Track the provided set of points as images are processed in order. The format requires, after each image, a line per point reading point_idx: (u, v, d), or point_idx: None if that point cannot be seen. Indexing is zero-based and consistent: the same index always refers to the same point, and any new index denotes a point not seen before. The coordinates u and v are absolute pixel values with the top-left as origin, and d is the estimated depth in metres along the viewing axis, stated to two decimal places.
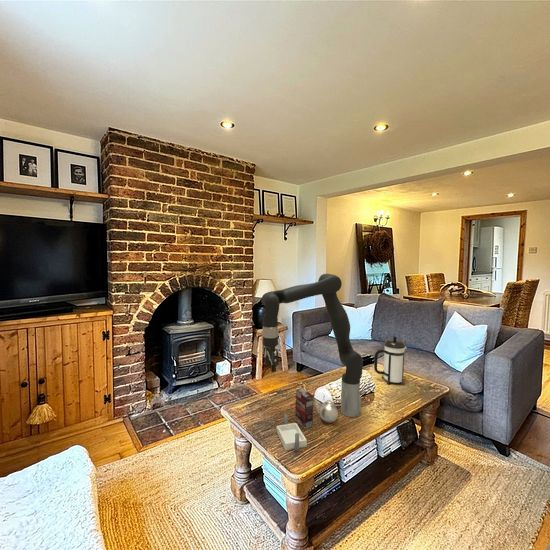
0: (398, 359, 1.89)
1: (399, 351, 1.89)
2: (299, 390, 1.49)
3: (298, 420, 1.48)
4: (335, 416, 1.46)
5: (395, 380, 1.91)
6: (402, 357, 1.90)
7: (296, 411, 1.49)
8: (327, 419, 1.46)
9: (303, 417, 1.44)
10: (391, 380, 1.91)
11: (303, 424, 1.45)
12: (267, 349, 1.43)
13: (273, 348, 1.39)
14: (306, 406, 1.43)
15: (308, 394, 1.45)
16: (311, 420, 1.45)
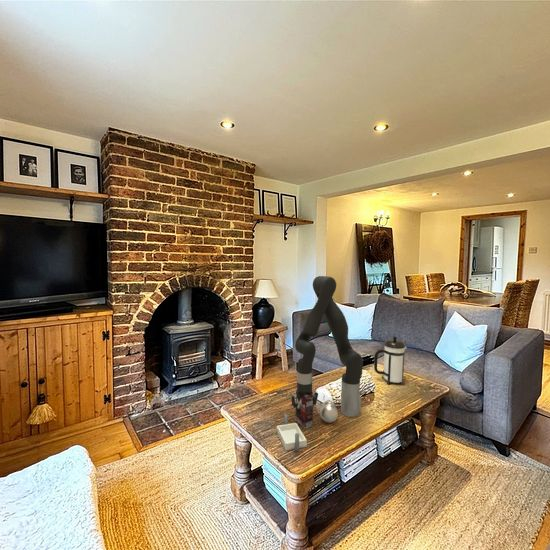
0: (398, 359, 1.89)
1: (399, 351, 1.89)
2: None
3: (298, 420, 1.48)
4: (335, 416, 1.46)
5: (395, 380, 1.91)
6: (402, 357, 1.90)
7: None
8: (327, 419, 1.46)
9: (303, 417, 1.44)
10: (391, 380, 1.91)
11: (303, 424, 1.45)
12: None
13: None
14: (306, 406, 1.43)
15: (308, 394, 1.45)
16: (311, 420, 1.45)
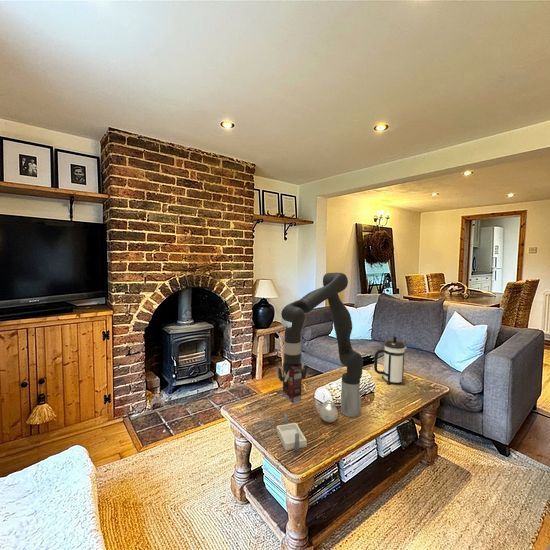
0: (398, 359, 1.89)
1: (399, 351, 1.89)
2: None
3: (285, 395, 1.34)
4: (335, 416, 1.46)
5: (395, 380, 1.91)
6: (402, 357, 1.90)
7: None
8: (327, 419, 1.46)
9: (291, 391, 1.30)
10: (391, 380, 1.91)
11: (291, 399, 1.31)
12: None
13: None
14: (294, 379, 1.29)
15: (296, 366, 1.31)
16: (300, 395, 1.31)
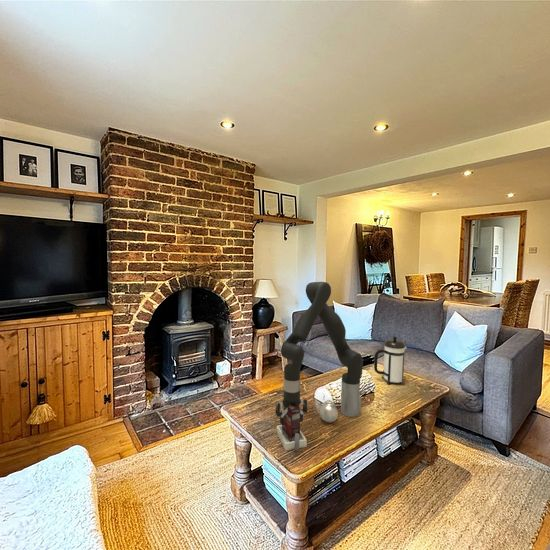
0: (398, 359, 1.89)
1: (399, 351, 1.89)
2: None
3: (285, 434, 1.36)
4: (335, 416, 1.46)
5: (395, 380, 1.91)
6: (402, 357, 1.90)
7: None
8: (327, 419, 1.46)
9: (290, 431, 1.32)
10: (391, 380, 1.91)
11: (289, 439, 1.32)
12: (291, 404, 1.33)
13: None
14: (292, 419, 1.31)
15: (295, 406, 1.33)
16: None
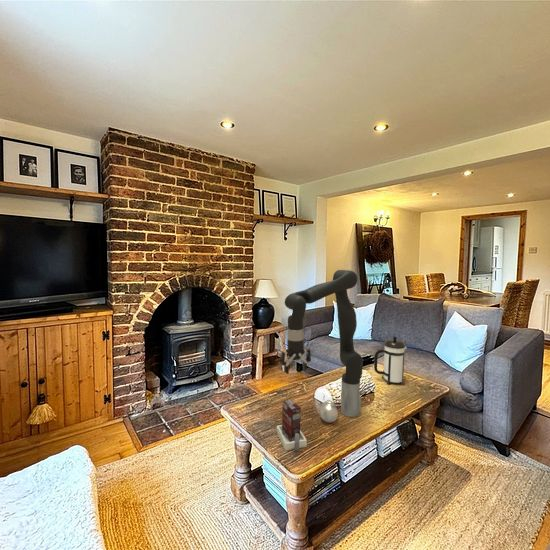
0: (398, 359, 1.89)
1: (399, 351, 1.89)
2: (286, 401, 1.37)
3: (285, 434, 1.36)
4: (335, 416, 1.46)
5: (395, 380, 1.91)
6: (402, 357, 1.90)
7: (283, 424, 1.37)
8: (327, 419, 1.46)
9: (290, 431, 1.32)
10: (391, 380, 1.91)
11: (289, 439, 1.32)
12: (295, 353, 1.38)
13: None
14: (292, 419, 1.31)
15: (295, 406, 1.33)
16: None
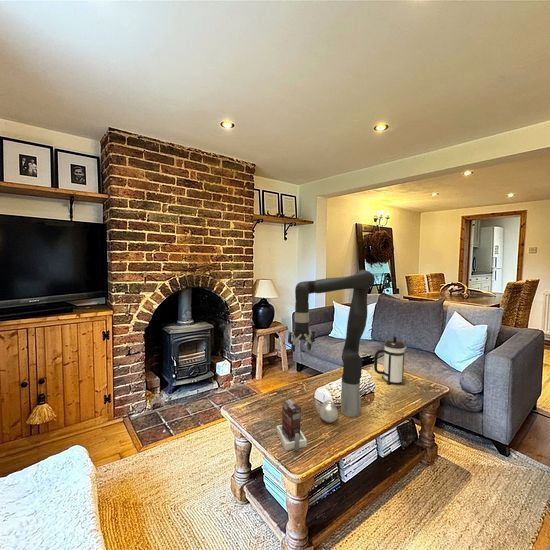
0: (398, 359, 1.89)
1: (399, 351, 1.89)
2: (286, 401, 1.37)
3: (285, 434, 1.36)
4: (335, 416, 1.46)
5: (395, 380, 1.91)
6: (402, 357, 1.90)
7: (283, 424, 1.37)
8: (327, 419, 1.46)
9: (290, 431, 1.32)
10: (391, 380, 1.91)
11: (289, 439, 1.32)
12: (301, 334, 1.57)
13: None
14: (292, 419, 1.31)
15: (295, 406, 1.33)
16: None
